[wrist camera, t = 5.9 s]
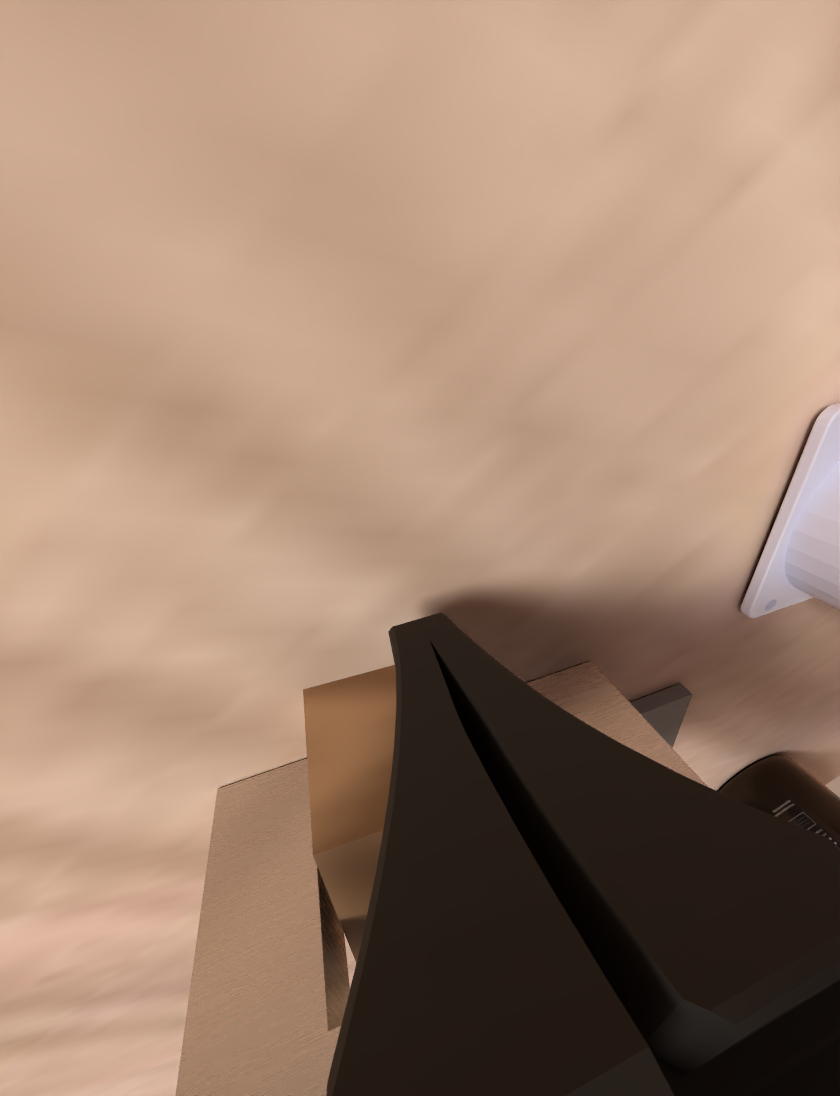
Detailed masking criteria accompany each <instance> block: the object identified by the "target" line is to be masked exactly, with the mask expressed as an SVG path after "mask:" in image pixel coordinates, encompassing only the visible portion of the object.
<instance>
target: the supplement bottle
mask: <svg viewBox="0 0 840 1096" xmlns="http://www.w3.org/2000/svg"><path fill="white" fill-rule="evenodd" d="M719 792H720V793H722V794H724V795H726V796H728V797H730V798H733V799H735V800H737V801H740V802H742V803H744V804H747V805H749V806H751V807H754V808H756V809H759V810H761V811H764V812H766V813H768V814H771V815H773V816H776V817H778V818H781V819H783V820H785V821H788V822H790V823H793V824H795V825H798V826H800V827H802V828H805V829H807V830H810V831H812V832H815V833H817V834H819V835H822V836H824V837H827V838H829V839H830V840H831V841H832V842H833V843H834V844H836V845H837V846H838V847H839V848H840V798H839V797H838V796H837V795H836V794H834V793H833V792H832V791H831V790H829V789H828V788H827V787H826V786H825V785H824V784H822V783H821V782H820V781H819V780H818V779H816V778H815V777H814V776H813V775H811V774H810V773H809V772H808V771H806V770H805V769H804V768H803V767H802V766H800V765H799V764H798V763H797V762H795V761H794V760H792V759H791V758H788V757H785V756H781V755H776V756H771V757H768V758H765V759H763V760H761V761H759V762H757V763H755V764H753V765H751V766H750V767H748V768H747V769H745V770H744V771H742V772H741V773H739V774H738V775H737V776H735V777H734V778H733V779H732V780H730V781H729V782H728V783H727V784H726V785H725V786H724V787H723V788H722V789H721V790H720V791H719Z"/></svg>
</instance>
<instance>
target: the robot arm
mask: <svg viewBox="0 0 840 1096" xmlns="http://www.w3.org/2000/svg"><path fill="white" fill-rule="evenodd" d="M811 598H816V599H818V600H820V601H822V602H824V603H826V604H828V605H830V606H832V607H834V608H836V609H838V610H840V403H835V404H833V405H831V406H829V407H827V408H826V409H825V410H823V411H822V412H821V414H820V415H819V416H818V417H817V419H816V421H815V423H814V425H813V428H812V430H811V433H810V435H809V438H808V440H807V443H806V445H805V448H804V450H803V453H802V455H801V458H800V460H799V463H798V465H797V468H796V470H795V473H794V475H793V478H792V480H791V483H790V485H789V488H788V490H787V493H786V495H785V498H784V500H783V503H782V505H781V508H780V510H779V513H778V515H777V518H776V520H775V523H774V525H773V528H772V530H771V533H770V535H769V538H768V540H767V543H766V545H765V548H764V550H763V553H762V555H761V558H760V560H759V563H758V565H757V568H756V570H755V573H754V575H753V578H752V580H751V583H750V585H749V587H748V590H747V592H746V595H745V597H744V600H743V602H742V605H741V612H742V613H743V614H744V615H746V616H748V617H749V618H757V617H760V616H763V615H766V614H768V613H771V612H774V611H777V610H780V609H783V608H785V607H788V606H791V605H794V604H797V603H800V602H802V601H805V600H808V599H811ZM389 637H390V642H391V647H392V652H393V657H394V662H395V669H396V721H395V738H394V752H393V762H392V772H391V780H390V788H389V796H388V803H387V809H386V816H385V822H384V829H383V835H382V841H381V847H380V853H379V858H378V864H377V869H376V874H375V879H374V884H373V889H372V893H371V898H370V903H369V908H368V913H367V917H366V922H365V927H364V932H363V937H362V941H361V946H360V950H359V955H358V959H357V963H356V968H355V972H354V976H353V980H352V984H351V988H350V992H349V996H348V1000H347V1004H346V1008H345V1012H344V1016H343V1020H342V1024H341V1028H340V1032H339V1036H338V1040H337V1044H336V1048H335V1052H334V1057H333V1061H332V1065H331V1069H330V1073H329V1077H328V1083H327V1093H326V1096H840V848H839V847H838V846H837V845H836V844H834V843H833V842H832V841H831V840H830V839H829V838H827V837H824V836H822V835H819V834H817V833H815V832H812V831H810V830H807V829H805V828H802V827H800V826H798V825H795V824H793V823H790V822H788V821H785V820H783V819H781V818H778V817H776V816H773V815H771V814H768V813H766V812H764V811H761V810H759V809H756V808H754V807H751V806H749V805H747V804H744V803H742V802H740V801H737V800H735V799H733V798H730V797H728V796H726V795H724V794H722V793H720V792H718V791H715V790H713V789H711V788H709V787H707V786H705V785H702V784H700V783H698V782H696V781H694V780H692V779H690V778H687V777H685V776H683V775H681V774H679V773H677V772H675V771H673V770H672V769H670V768H668V767H666V766H664V765H662V764H660V763H658V762H656V761H654V760H652V759H650V758H648V757H646V756H644V755H642V754H640V753H639V752H637V751H635V750H633V749H631V748H629V747H627V746H625V745H623V744H621V743H619V742H618V741H616V740H614V739H612V738H611V737H609V736H607V735H605V734H604V733H602V732H600V731H599V730H597V729H595V728H593V727H592V726H590V725H588V724H587V723H585V722H583V721H582V720H580V719H579V718H577V717H575V716H574V715H572V714H570V713H569V712H567V711H566V710H564V709H563V708H561V707H560V706H558V705H556V704H555V703H553V702H552V701H551V700H549V699H548V698H546V697H545V696H543V695H542V694H540V693H539V692H538V691H536V690H535V689H533V688H532V687H531V686H529V685H528V684H526V683H525V682H524V681H522V680H521V679H520V678H518V677H517V676H516V675H514V674H513V673H512V672H510V671H509V670H508V669H506V668H505V667H504V666H503V665H501V664H500V663H499V662H498V661H496V660H495V659H494V658H493V657H491V656H490V655H489V654H488V653H487V652H485V651H484V650H483V649H482V648H481V647H479V646H478V645H477V644H476V643H475V642H474V641H473V640H471V639H470V638H469V637H468V636H467V635H466V634H465V633H464V632H462V631H461V630H460V629H459V628H458V627H457V626H456V625H455V624H454V623H453V622H452V621H451V620H450V619H449V618H448V617H447V616H446V615H444V614H442V613H438V614H435V615H431V616H428V617H425V618H421V619H418V620H414V621H411V622H407V623H404V624H400V625H397V626H393V627H392V628H391V629H390V631H389Z"/></svg>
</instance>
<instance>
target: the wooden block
mask: <svg viewBox="0 0 840 1096" xmlns="http://www.w3.org/2000/svg"><path fill="white" fill-rule="evenodd" d="M303 694H304V711H305V729H306V746H307V763H308V780H309V797H310V814H311V831H312V848H313V857H314V859H315V862H316V864H317V867H318V869H319V872H320V874H321V877H322V879H323V882H324V884H325V887H326V889H327V891H328V894H329V896H330V899H331V901H332V904H333V906H334V909H335V911H336V914H337V916H338V919H339V921H340V923H341V926H342V928H343V931H344V933H345V936H346V938H347V941H348V943H349V946H350V948H351V951H352V953H353V955H354V958H355V960H356V963H357V959H358V955H359V950H360V946H361V941H362V937H363V932H364V927H365V922H366V917H367V913H368V908H369V903H370V898H371V893H372V889H373V884H374V879H375V874H376V869H377V864H378V858H379V853H380V847H381V841H382V835H383V829H384V822H385V816H386V809H387V803H388V796H389V788H390V780H391V772H392V762H393V752H394V738H395V721H396V669H395V665H393V666H389V667H385V668H382V669H378V670H374V671H371V672H367V673H363V674H359V675H356V676H352V677H348V678H345V679H341V680H337V681H333V682H330V683H326V684H322V685H319V686H315V687H311V688H308V689H304V690H303Z"/></svg>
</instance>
